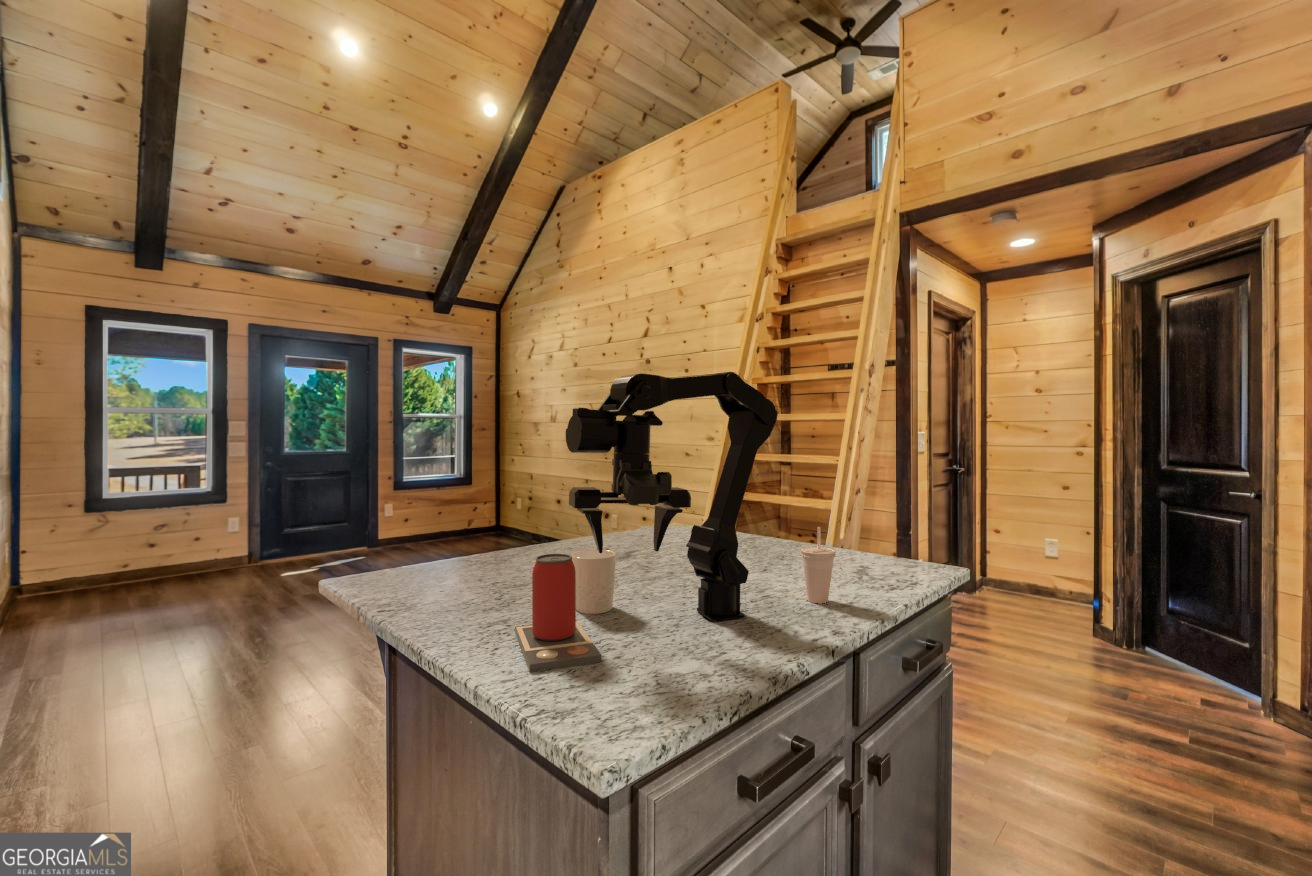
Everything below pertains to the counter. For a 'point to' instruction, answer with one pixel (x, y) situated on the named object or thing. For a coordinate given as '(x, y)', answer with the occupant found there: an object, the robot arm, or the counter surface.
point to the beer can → (553, 597)
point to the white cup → (594, 580)
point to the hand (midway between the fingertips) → (628, 552)
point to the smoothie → (818, 571)
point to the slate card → (556, 650)
